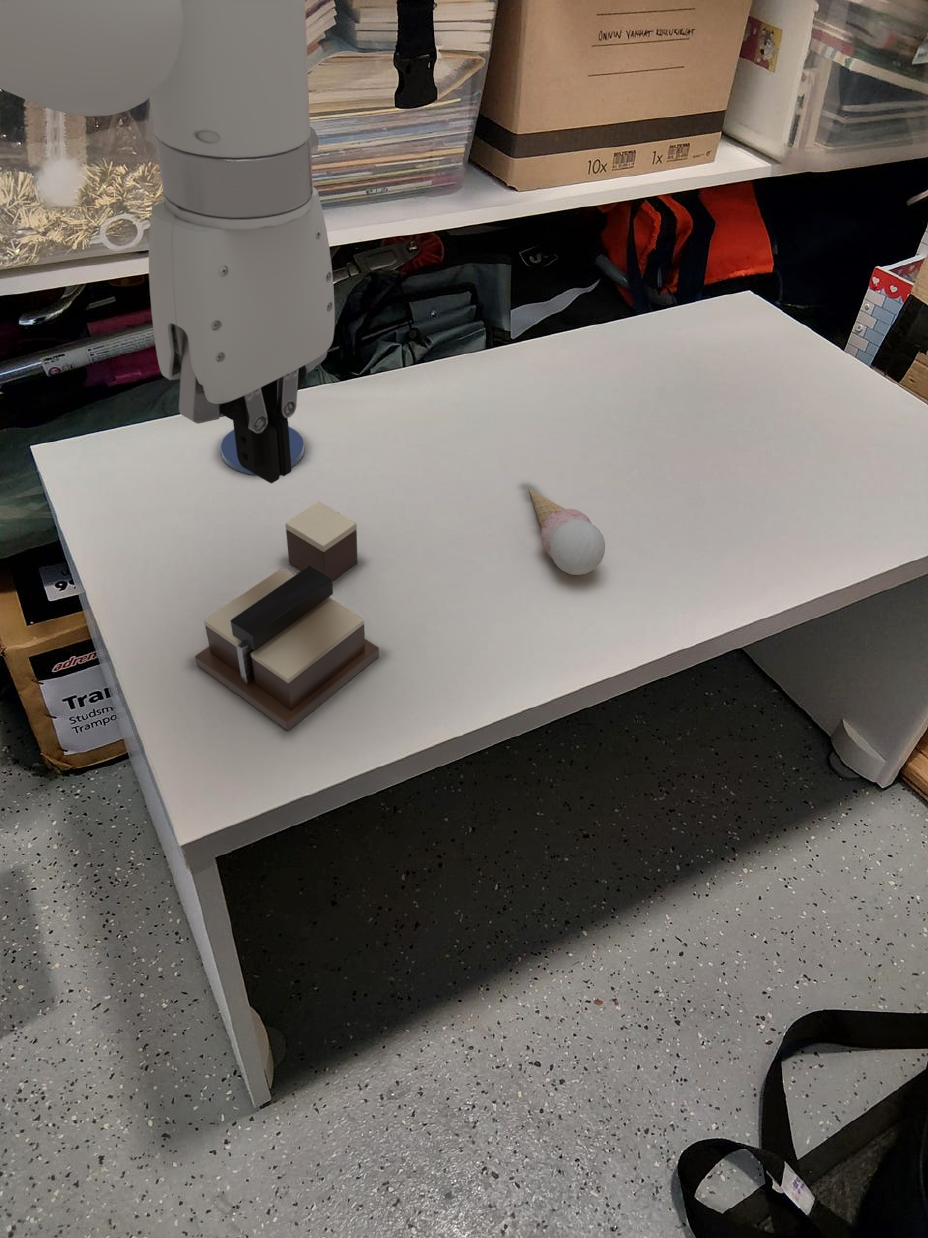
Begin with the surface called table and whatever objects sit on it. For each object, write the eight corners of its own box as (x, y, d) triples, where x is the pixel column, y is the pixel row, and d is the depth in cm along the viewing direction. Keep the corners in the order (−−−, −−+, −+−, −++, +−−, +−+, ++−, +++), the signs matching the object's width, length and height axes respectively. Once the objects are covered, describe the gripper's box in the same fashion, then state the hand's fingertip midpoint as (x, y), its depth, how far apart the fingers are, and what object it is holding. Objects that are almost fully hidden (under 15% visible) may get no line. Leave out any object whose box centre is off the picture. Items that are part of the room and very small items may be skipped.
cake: (288, 731, 68) (283, 691, 65) (196, 664, 72) (187, 623, 69) (379, 656, 74) (379, 615, 71) (290, 598, 78) (286, 557, 75)
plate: (261, 485, 89) (260, 478, 88) (204, 452, 92) (203, 445, 91) (320, 450, 93) (320, 443, 93) (264, 419, 97) (264, 412, 96)
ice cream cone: (497, 502, 91) (552, 576, 79) (519, 459, 89) (578, 527, 77) (537, 517, 93) (596, 590, 81) (559, 475, 91) (624, 544, 79)
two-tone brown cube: (325, 586, 79) (323, 545, 76) (288, 563, 81) (285, 522, 78) (357, 563, 82) (356, 523, 79) (321, 541, 84) (318, 501, 80)
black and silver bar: (255, 692, 69) (247, 640, 65) (233, 676, 70) (224, 623, 66) (339, 627, 75) (337, 575, 71) (317, 613, 76) (314, 561, 72)
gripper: (291, 121, 53) (306, 402, 66) (63, 186, 44) (132, 496, 57) (390, 158, 50) (386, 445, 63) (167, 235, 41) (215, 551, 54)
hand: (265, 469), depth 60 cm, fingers closed
